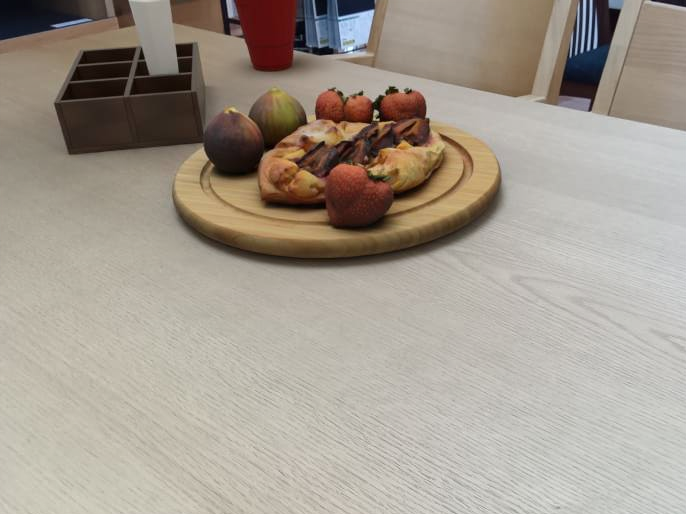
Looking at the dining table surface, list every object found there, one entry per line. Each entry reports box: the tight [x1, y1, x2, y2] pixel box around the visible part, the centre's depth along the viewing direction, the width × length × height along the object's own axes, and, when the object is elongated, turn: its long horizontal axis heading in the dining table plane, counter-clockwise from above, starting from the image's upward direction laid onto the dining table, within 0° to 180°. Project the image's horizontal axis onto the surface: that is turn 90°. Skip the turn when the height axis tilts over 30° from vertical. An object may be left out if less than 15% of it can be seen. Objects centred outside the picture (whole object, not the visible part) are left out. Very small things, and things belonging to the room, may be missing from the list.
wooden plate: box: [171, 85, 502, 259], centre depth 72 cm, size 32×32×8 cm
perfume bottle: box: [127, 0, 179, 75], centre depth 88 cm, size 5×4×15 cm
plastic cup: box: [233, 0, 299, 72], centre depth 106 cm, size 11×11×12 cm
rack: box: [53, 41, 206, 155], centre depth 91 cm, size 15×22×6 cm
